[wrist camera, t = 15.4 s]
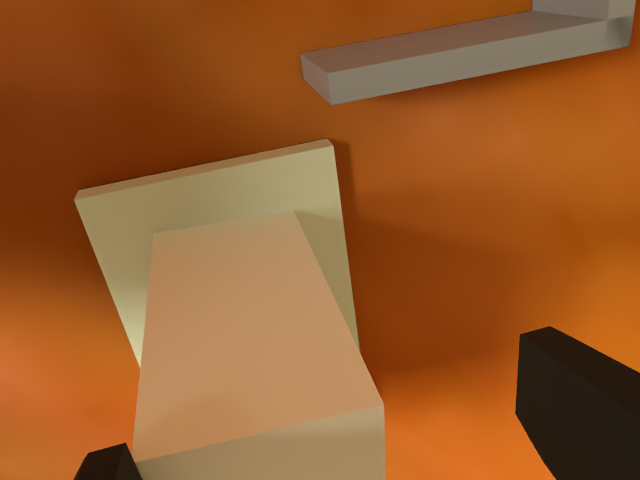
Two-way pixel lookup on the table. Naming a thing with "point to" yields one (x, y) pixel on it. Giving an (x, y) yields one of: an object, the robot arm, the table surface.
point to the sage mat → (216, 218)
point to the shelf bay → (468, 49)
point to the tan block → (250, 362)
